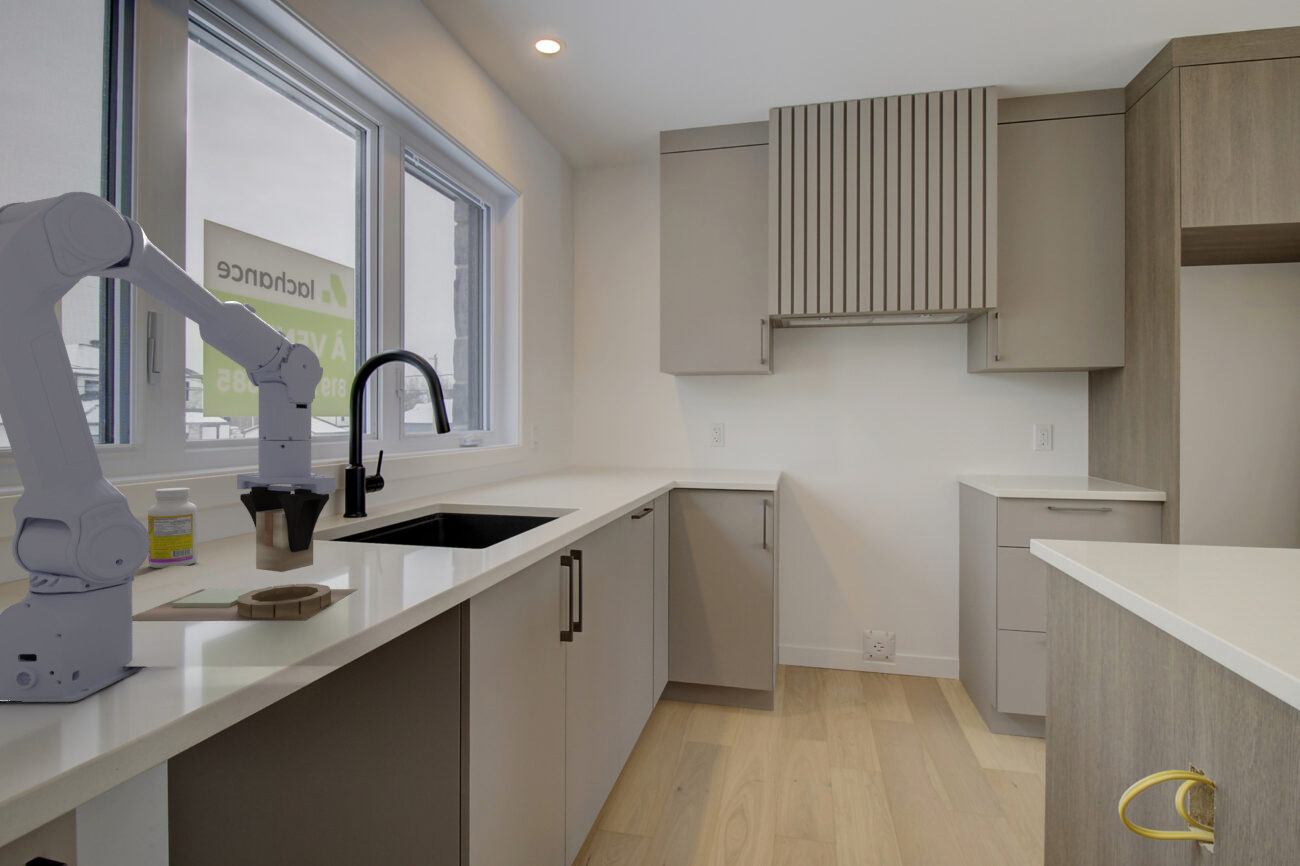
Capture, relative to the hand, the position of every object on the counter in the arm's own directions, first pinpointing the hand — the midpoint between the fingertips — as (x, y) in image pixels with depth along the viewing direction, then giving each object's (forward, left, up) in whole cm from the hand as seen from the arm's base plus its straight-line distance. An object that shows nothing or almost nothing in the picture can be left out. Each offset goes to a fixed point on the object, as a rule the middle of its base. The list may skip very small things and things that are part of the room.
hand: (285, 549), depth 80 cm
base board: (+1, +5, -8) cm, 10 cm away
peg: (0, 0, -2) cm, 2 cm away
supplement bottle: (+29, +34, -8) cm, 46 cm away
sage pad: (+3, +10, -7) cm, 13 cm away
